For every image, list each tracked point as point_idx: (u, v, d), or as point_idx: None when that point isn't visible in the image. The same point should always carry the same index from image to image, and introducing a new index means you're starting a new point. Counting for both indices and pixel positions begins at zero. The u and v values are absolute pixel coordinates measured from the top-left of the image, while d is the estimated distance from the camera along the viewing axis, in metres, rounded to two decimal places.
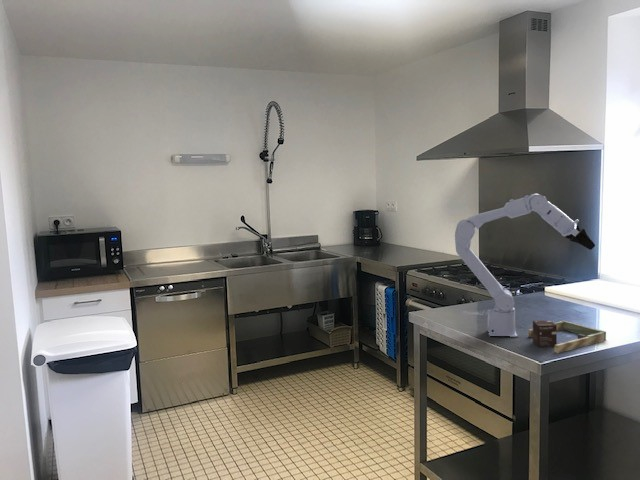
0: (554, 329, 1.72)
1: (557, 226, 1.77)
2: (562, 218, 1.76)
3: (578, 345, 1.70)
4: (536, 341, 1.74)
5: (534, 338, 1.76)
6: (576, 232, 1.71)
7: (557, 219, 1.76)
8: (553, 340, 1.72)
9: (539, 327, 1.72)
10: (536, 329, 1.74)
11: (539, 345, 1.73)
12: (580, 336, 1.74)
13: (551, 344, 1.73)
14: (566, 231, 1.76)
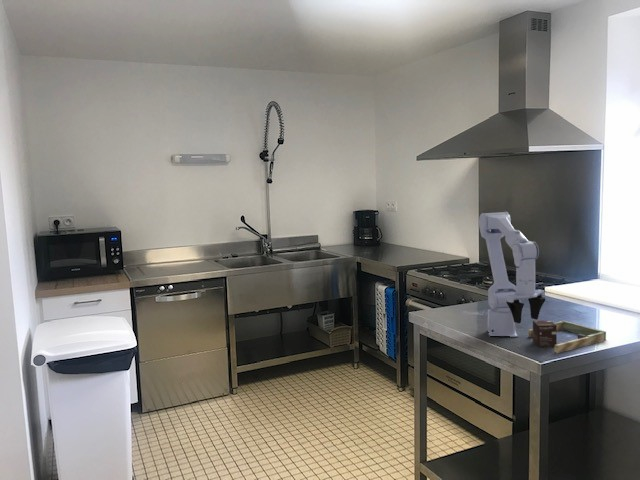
0: (554, 329, 1.72)
1: (516, 282, 1.70)
2: (522, 282, 1.67)
3: (578, 345, 1.70)
4: (536, 341, 1.74)
5: (534, 338, 1.76)
6: (510, 300, 1.67)
7: (517, 277, 1.69)
8: (553, 340, 1.72)
9: (539, 327, 1.72)
10: (536, 329, 1.74)
11: (539, 345, 1.73)
12: (580, 336, 1.74)
13: (551, 344, 1.73)
14: (516, 292, 1.70)
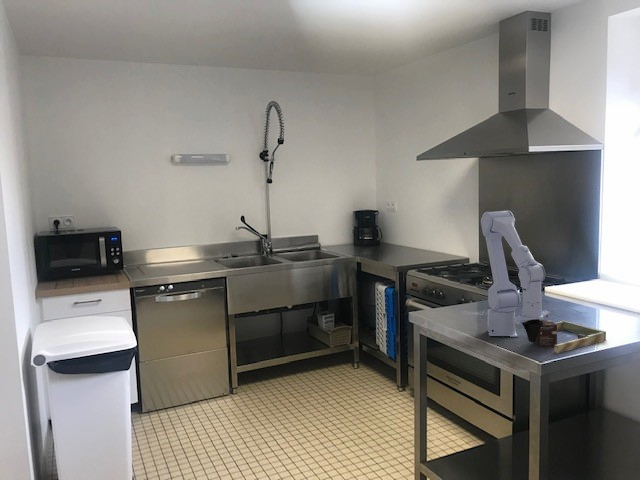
0: (554, 328, 1.72)
1: None
2: (528, 304, 1.69)
3: (578, 345, 1.70)
4: (536, 341, 1.74)
5: None
6: (516, 322, 1.69)
7: (524, 300, 1.71)
8: (553, 340, 1.72)
9: None
10: None
11: (539, 345, 1.73)
12: (580, 336, 1.74)
13: (551, 343, 1.73)
14: (523, 314, 1.72)
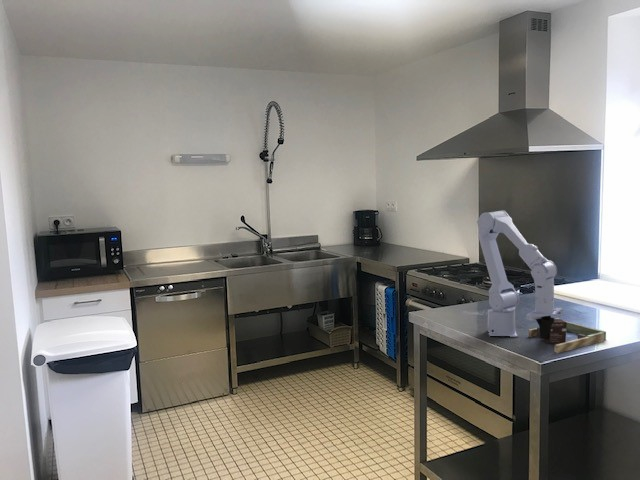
0: (564, 326, 1.74)
1: (535, 301, 1.74)
2: (541, 300, 1.72)
3: (578, 345, 1.70)
4: None
5: None
6: (529, 319, 1.71)
7: (539, 297, 1.72)
8: (562, 337, 1.75)
9: None
10: None
11: (549, 342, 1.75)
12: (580, 336, 1.74)
13: (560, 340, 1.75)
14: (535, 311, 1.74)
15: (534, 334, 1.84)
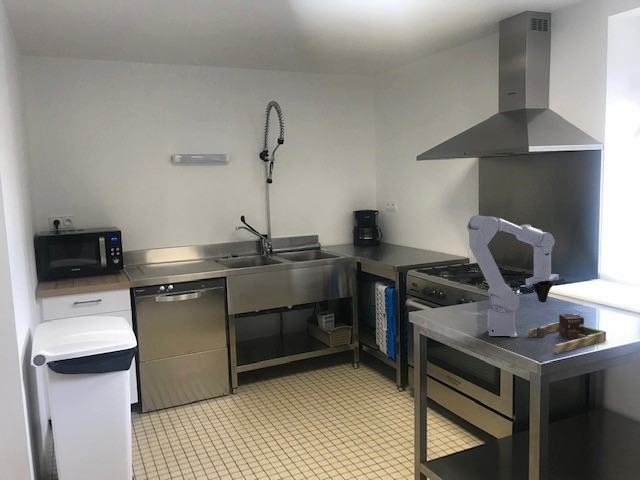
0: (582, 321, 1.78)
1: None
2: (539, 266, 1.88)
3: (578, 345, 1.70)
4: (564, 334, 1.80)
5: (561, 331, 1.82)
6: (528, 283, 1.87)
7: (547, 264, 1.87)
8: (580, 333, 1.79)
9: (567, 320, 1.78)
10: (563, 322, 1.80)
11: (567, 338, 1.79)
12: (580, 336, 1.74)
13: None
14: (534, 276, 1.91)
15: (534, 334, 1.84)
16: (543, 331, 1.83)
